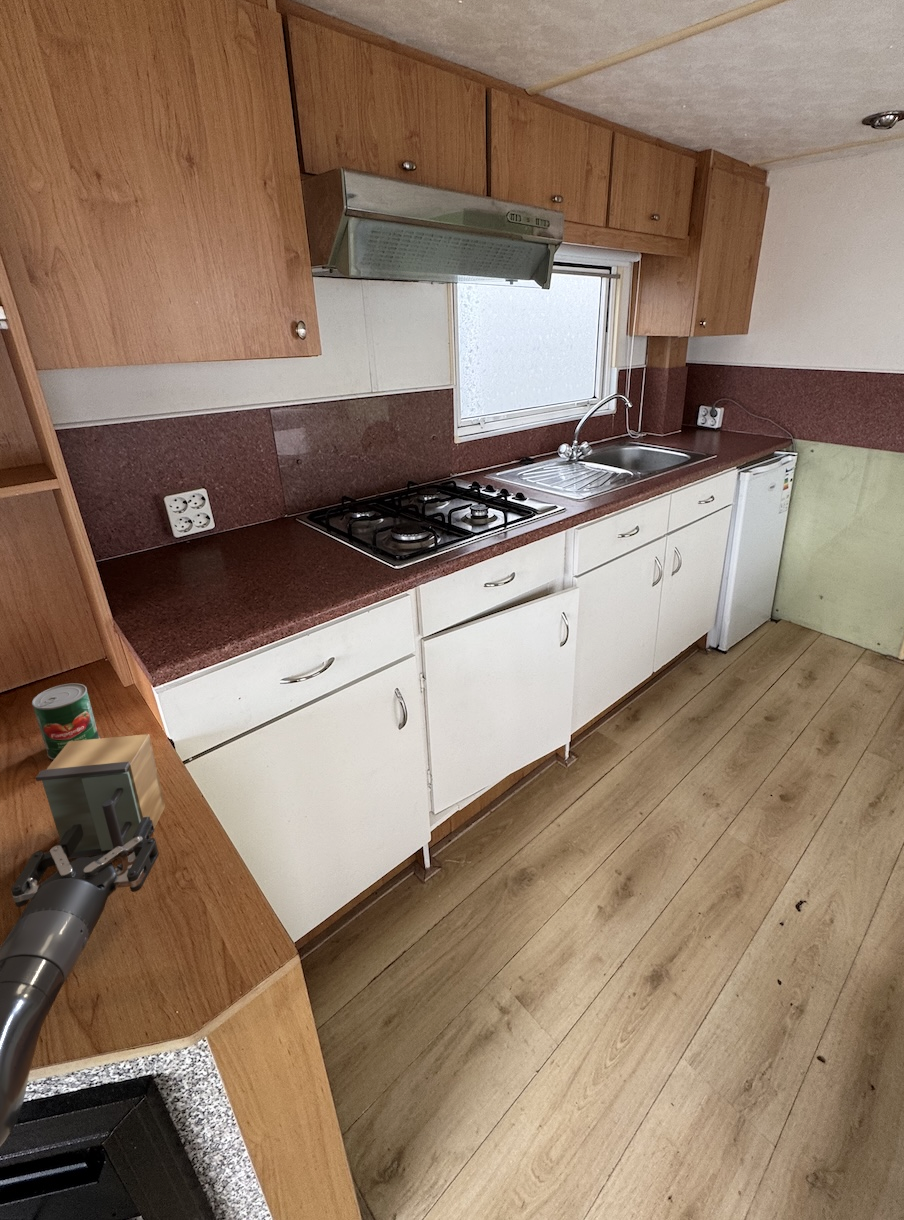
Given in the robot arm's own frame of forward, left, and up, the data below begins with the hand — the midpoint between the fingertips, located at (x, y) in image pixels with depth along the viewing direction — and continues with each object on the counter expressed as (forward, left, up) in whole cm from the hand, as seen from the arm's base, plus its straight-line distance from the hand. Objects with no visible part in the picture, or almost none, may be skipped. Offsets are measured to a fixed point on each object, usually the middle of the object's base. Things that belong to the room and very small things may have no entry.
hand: (113, 825), depth 79 cm
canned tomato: (-20, +30, -8) cm, 37 cm away
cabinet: (-4, +8, -8) cm, 12 cm away
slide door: (-2, +2, -7) cm, 8 cm away
